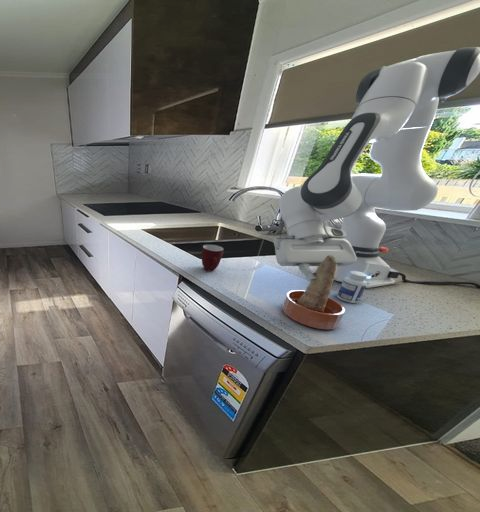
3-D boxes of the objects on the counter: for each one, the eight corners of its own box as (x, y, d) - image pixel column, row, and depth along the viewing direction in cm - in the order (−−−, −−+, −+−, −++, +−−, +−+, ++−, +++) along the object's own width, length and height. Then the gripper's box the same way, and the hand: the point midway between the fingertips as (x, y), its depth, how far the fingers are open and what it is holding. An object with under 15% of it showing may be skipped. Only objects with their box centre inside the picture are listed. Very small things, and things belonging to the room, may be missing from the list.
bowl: (311, 304, 80) (316, 289, 78) (351, 330, 68) (358, 314, 66) (271, 304, 80) (276, 290, 78) (304, 331, 68) (311, 315, 66)
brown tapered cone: (291, 304, 76) (307, 317, 70) (306, 252, 68) (325, 262, 63) (312, 302, 75) (329, 315, 70) (329, 250, 68) (350, 259, 62)
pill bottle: (351, 295, 84) (362, 270, 80) (362, 304, 79) (375, 278, 76) (332, 294, 85) (343, 269, 82) (342, 302, 81) (354, 276, 77)
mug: (225, 276, 99) (230, 253, 95) (205, 276, 99) (209, 253, 96) (214, 265, 109) (218, 244, 105) (196, 265, 109) (199, 244, 105)
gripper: (279, 231, 71) (293, 276, 66) (351, 231, 70) (371, 276, 65) (265, 240, 77) (277, 282, 71) (332, 240, 76) (349, 283, 71)
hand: (322, 279), depth 68 cm, fingers closed on brown tapered cone, 4 cm apart
